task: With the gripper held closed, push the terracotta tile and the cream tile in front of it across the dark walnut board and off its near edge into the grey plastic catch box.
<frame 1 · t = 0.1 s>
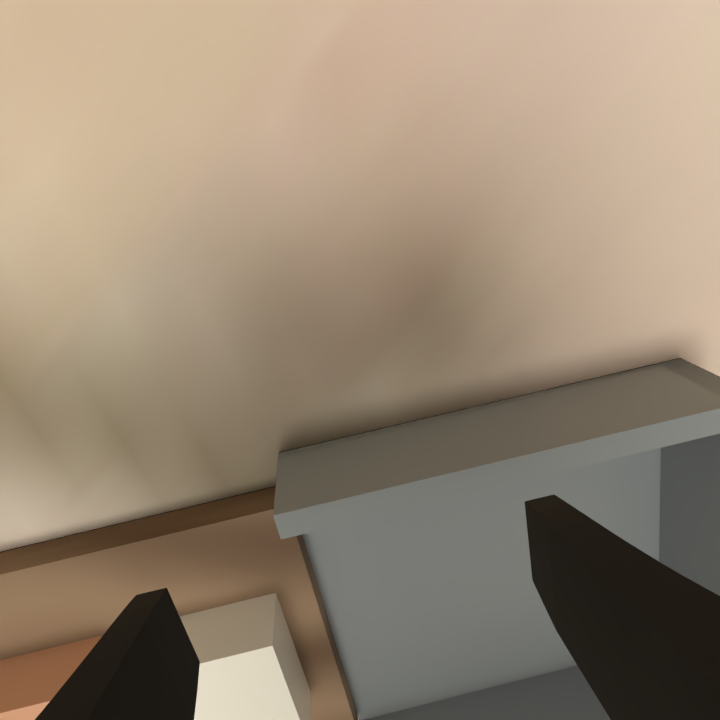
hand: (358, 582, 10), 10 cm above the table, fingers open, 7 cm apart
walnut board: (156, 650, 23), on the table
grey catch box: (492, 567, 23), on the table
terracotta tile: (66, 700, 21), point 1 cm above the table, touching walnut board
cream tile: (226, 661, 21), point 1 cm above the table, touching walnut board
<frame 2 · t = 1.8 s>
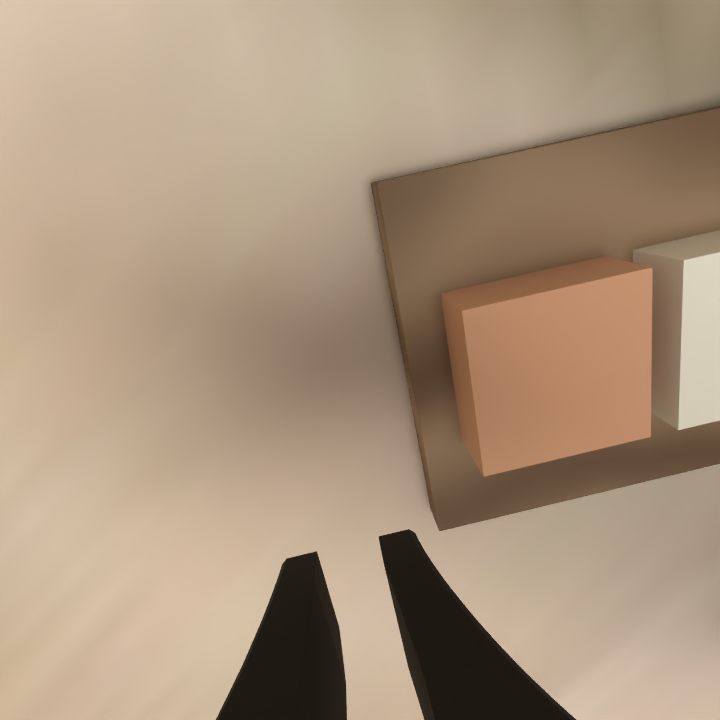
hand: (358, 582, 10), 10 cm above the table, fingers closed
walnut board: (597, 321, 20), on the table
terracotta tile: (530, 353, 18), point 1 cm above the table, touching walnut board
cream tile: (709, 311, 19), point 1 cm above the table, touching walnut board
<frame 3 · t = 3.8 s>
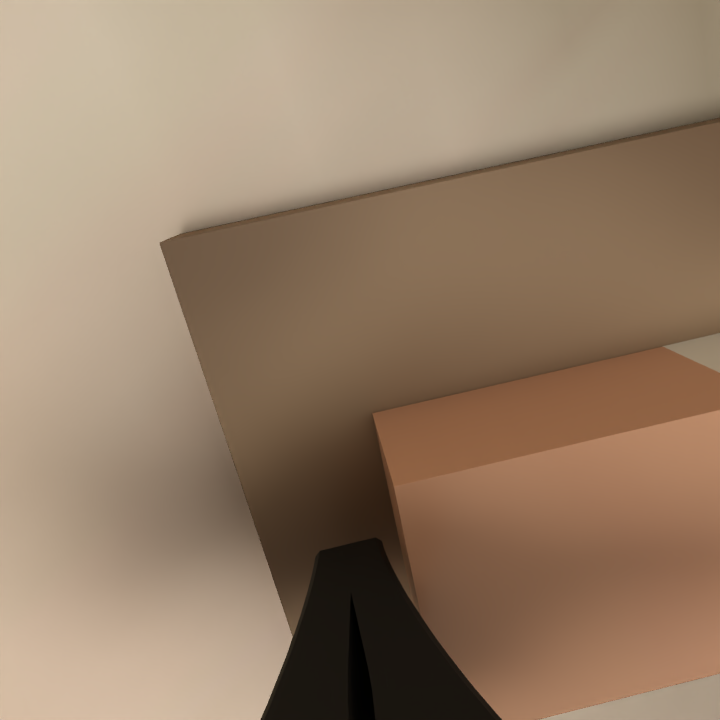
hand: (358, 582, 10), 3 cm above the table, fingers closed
walnut board: (585, 446, 12), on the table
terracotta tile: (529, 501, 11), point 2 cm above the table, touching cream tile, gripper
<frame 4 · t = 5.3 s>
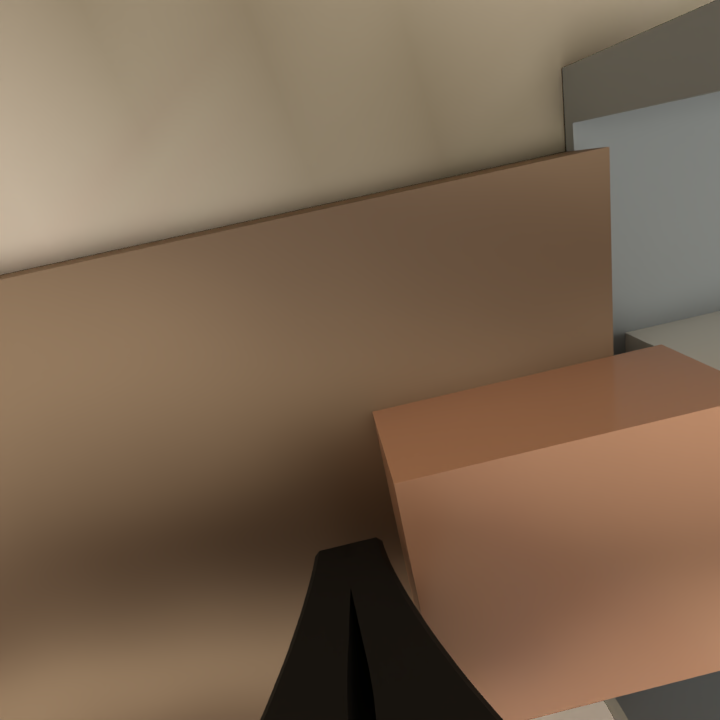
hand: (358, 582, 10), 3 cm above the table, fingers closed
walnut board: (268, 521, 12), on the table
terracotta tile: (529, 500, 11), point 1 cm above the table, touching cream tile, gripper, walnut board
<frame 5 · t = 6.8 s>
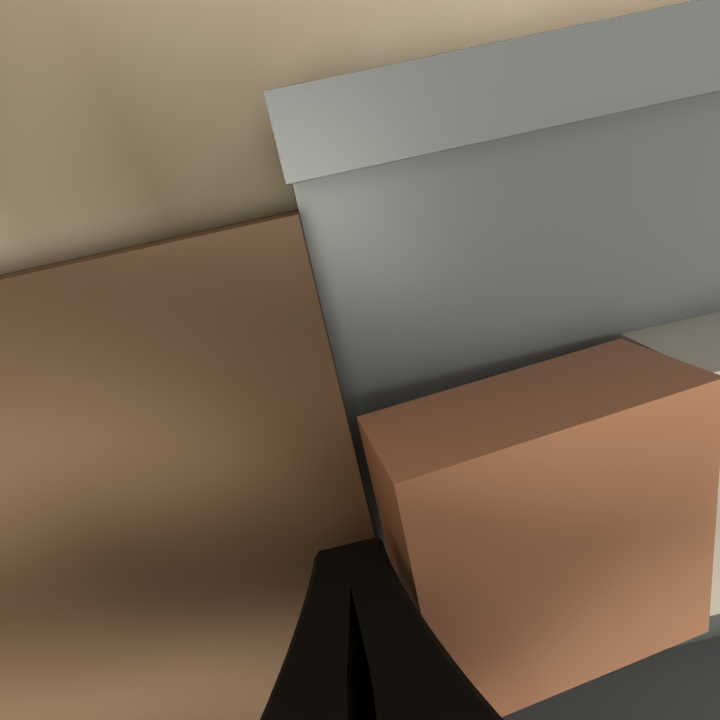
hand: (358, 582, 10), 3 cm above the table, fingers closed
walnut board: (46, 574, 12), on the table
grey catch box: (675, 425, 12), on the table
terracotta tile: (507, 494, 11), point 1 cm above the table, tilted 7°, touching cream tile, gripper
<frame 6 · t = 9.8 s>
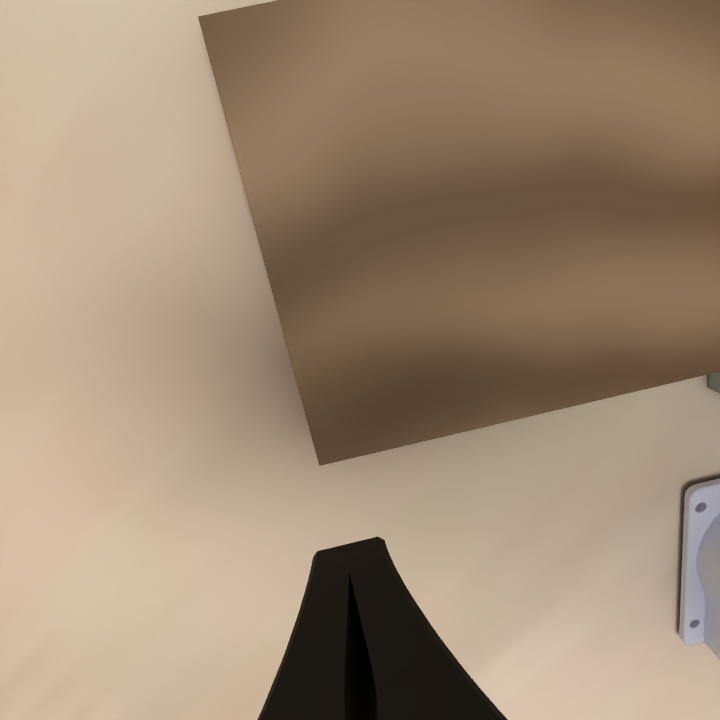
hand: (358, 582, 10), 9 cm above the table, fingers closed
walnut board: (498, 218, 17), on the table
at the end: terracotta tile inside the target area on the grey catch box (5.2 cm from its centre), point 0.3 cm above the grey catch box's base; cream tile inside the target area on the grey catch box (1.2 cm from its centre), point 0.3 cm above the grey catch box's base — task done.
